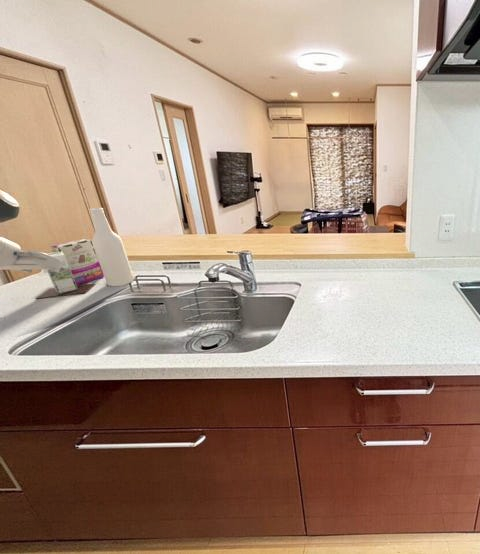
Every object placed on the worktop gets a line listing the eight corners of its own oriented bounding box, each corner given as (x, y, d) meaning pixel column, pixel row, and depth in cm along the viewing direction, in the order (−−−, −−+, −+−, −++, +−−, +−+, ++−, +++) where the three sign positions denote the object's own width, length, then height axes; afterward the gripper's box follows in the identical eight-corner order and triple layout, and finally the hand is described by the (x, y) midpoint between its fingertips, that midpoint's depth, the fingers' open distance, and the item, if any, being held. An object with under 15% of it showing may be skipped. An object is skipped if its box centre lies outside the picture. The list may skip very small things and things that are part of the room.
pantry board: (36, 299, 106) (35, 298, 106) (50, 289, 114) (49, 288, 114) (85, 293, 111) (84, 292, 111) (95, 284, 119) (95, 283, 119)
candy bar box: (97, 275, 128) (83, 238, 121) (105, 276, 126) (92, 239, 120) (66, 285, 118) (49, 245, 112) (74, 286, 116) (58, 246, 110)
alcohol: (138, 281, 122) (115, 208, 110) (112, 288, 115) (84, 211, 103) (129, 276, 126) (106, 205, 115) (104, 283, 119) (76, 209, 108)
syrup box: (75, 285, 116) (61, 250, 111) (78, 289, 113) (64, 253, 107) (55, 290, 112) (39, 254, 106) (58, 294, 109) (41, 257, 103)
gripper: (38, 243, 93) (77, 262, 106) (-30, 243, 92) (18, 262, 105) (30, 261, 90) (71, 278, 103) (-40, 262, 90) (10, 279, 102)
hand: (43, 270), depth 104 cm, fingers open, 8 cm apart
